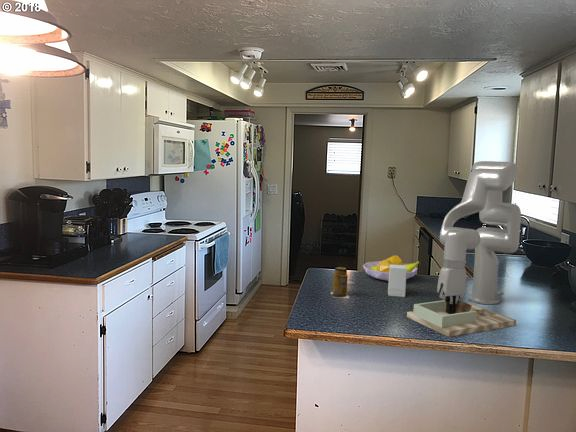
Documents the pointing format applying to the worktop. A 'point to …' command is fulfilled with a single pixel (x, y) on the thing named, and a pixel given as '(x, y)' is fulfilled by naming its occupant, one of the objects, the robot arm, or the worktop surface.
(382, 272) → the fruit bowl
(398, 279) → the supplement box
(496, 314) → the board
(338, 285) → the condiment
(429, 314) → the low bay
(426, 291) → the worktop surface
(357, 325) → the worktop surface
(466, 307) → the walnut block
